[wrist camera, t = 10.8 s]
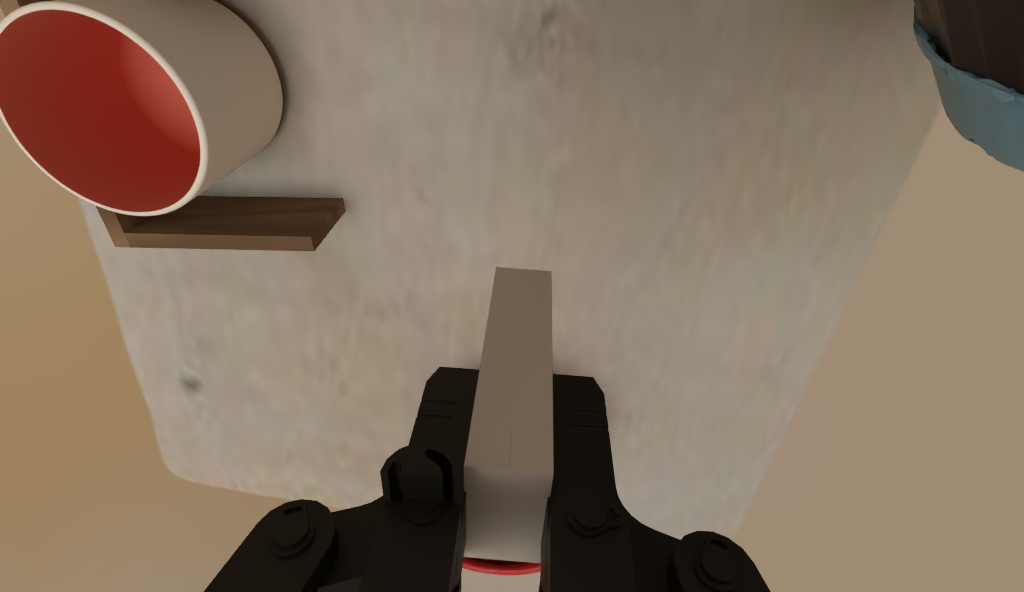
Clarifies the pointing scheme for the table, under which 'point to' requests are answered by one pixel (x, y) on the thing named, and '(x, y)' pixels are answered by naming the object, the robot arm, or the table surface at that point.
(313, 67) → the table surface
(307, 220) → the box
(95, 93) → the cup
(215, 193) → the table surface
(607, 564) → the robot arm
